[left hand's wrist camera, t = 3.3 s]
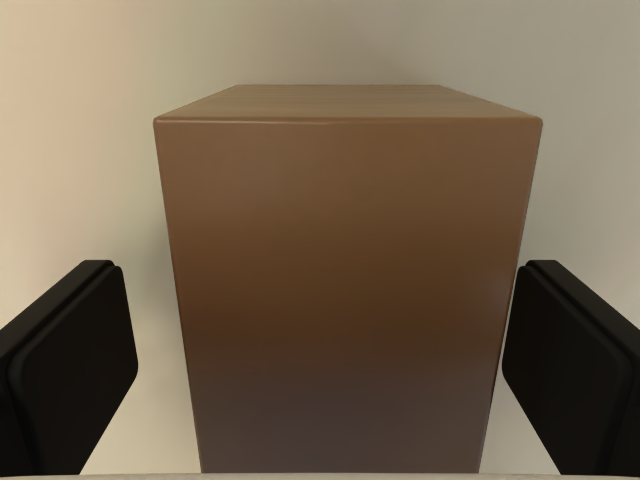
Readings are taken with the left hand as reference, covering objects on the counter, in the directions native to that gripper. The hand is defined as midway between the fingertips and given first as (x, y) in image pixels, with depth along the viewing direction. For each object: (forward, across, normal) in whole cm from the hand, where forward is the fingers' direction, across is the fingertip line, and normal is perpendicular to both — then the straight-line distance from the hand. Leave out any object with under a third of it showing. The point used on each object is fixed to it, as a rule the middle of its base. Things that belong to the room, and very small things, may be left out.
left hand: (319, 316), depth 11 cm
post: (+5, 0, -34) cm, 34 cm away
